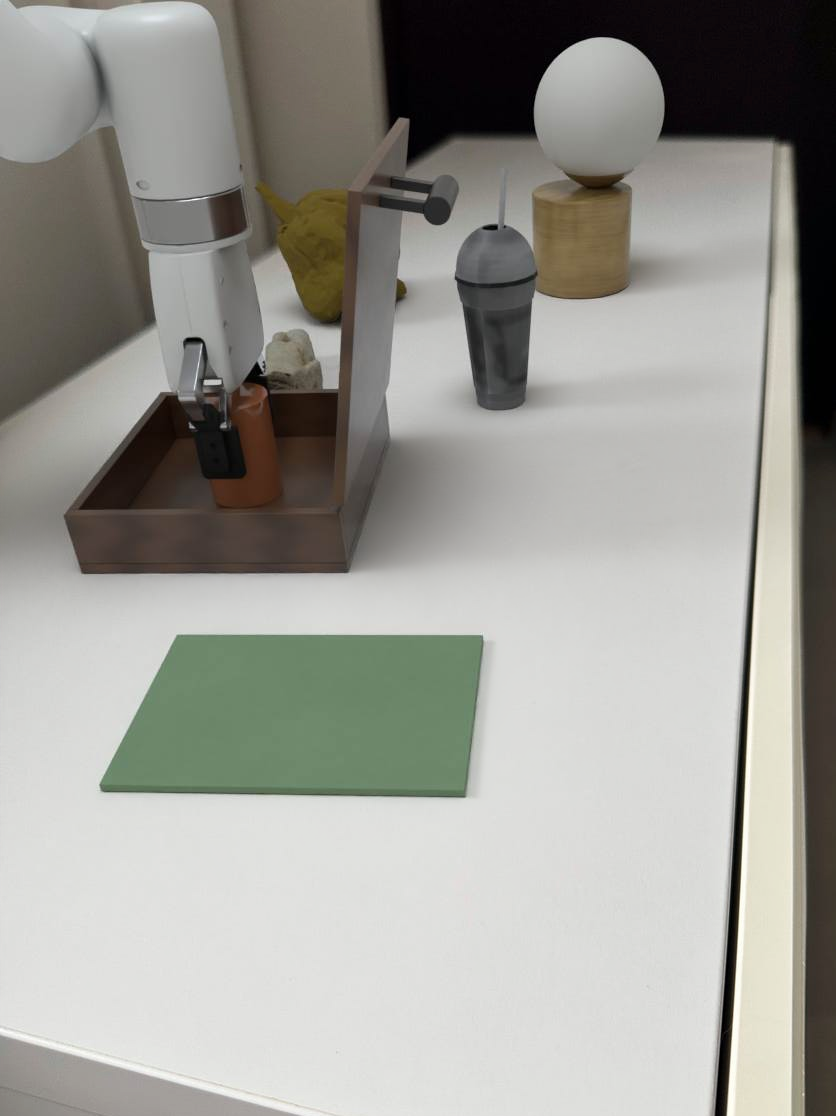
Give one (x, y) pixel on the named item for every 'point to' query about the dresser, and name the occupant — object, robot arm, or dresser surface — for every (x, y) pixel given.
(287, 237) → the olive lumpy blob
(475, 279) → the beverage cup
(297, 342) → the sculpture
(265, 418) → the cylinder
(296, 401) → the chest
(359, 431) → the lid
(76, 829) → the dresser surface
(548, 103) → the lamp
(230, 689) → the mat
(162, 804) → the dresser surface
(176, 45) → the robot arm
